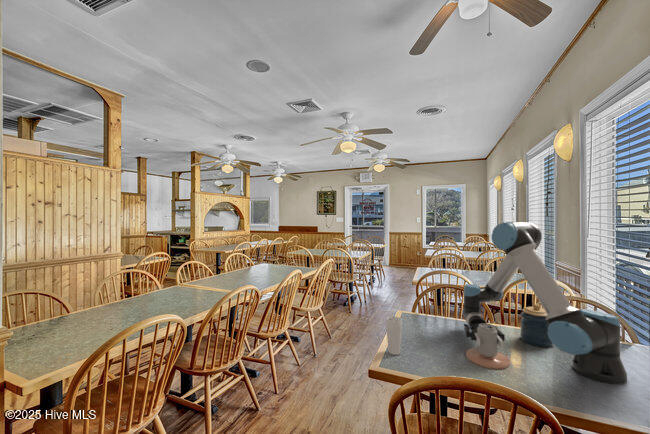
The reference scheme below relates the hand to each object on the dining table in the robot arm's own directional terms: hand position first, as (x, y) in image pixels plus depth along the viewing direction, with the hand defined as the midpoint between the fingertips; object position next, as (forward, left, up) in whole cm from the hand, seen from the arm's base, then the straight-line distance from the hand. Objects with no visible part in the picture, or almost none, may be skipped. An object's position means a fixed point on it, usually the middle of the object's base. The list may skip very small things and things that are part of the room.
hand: (490, 343), depth 118 cm
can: (+4, -3, -7) cm, 8 cm away
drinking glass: (+23, +30, -9) cm, 39 cm away
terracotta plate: (+4, -3, -9) cm, 10 cm away
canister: (+8, -39, -9) cm, 41 cm away
